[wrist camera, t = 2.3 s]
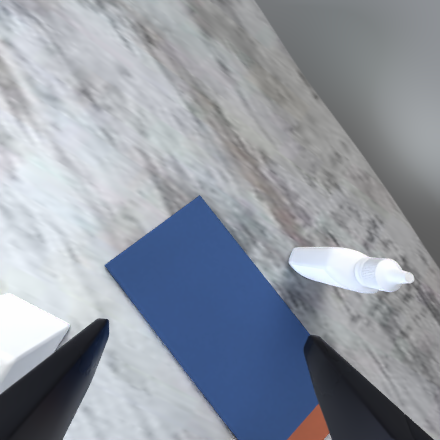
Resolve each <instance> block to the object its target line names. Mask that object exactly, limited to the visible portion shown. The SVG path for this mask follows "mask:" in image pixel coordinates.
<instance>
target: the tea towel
mask: <svg viewBox="0 0 440 440" xmlns="http://www.w3.org/2000/svg"><path fill="white" fill-rule="evenodd" d="M105 267H106V268H107V269H108V271H109V272H110V273H111V275H112V276H113V277H114V279H115V280H116V281H117V283H118V284H119V285H120V286H121V288H122V289H123V290H124V292H125V293H126V294H127V296H128V297H129V298H130V299H131V301H132V302H133V303H134V305H135V306H136V307H137V309H138V310H139V311H140V313H141V314H142V315H143V316H144V318H145V319H146V320H147V322H148V323H149V324H150V326H151V327H152V328H153V329H154V331H155V332H156V333H157V335H158V336H159V337H160V339H161V340H162V341H163V343H164V344H165V345H166V346H167V348H168V349H169V350H170V352H171V353H172V354H173V356H174V357H175V358H176V360H177V361H178V362H179V363H180V365H181V366H182V367H183V369H184V370H185V371H186V373H187V374H188V375H189V376H190V378H191V379H192V380H193V382H194V383H195V384H196V386H197V387H198V388H199V390H200V391H201V392H202V393H203V395H204V396H205V397H206V399H207V400H208V401H209V403H210V404H211V405H212V406H213V408H214V409H215V410H216V412H217V413H218V414H219V416H220V417H221V418H222V420H223V421H224V422H225V423H226V425H227V426H228V427H229V429H230V430H231V431H232V433H233V434H234V435H235V436H236V438H237V439H238V440H324V439H325V437H326V436H327V435H328V434H329V430H328V427H327V424H326V422H325V419H324V416H323V413H322V411H321V408H320V405H319V403H318V400H317V397H316V394H315V391H314V388H313V385H312V381H311V377H310V374H309V370H308V367H307V363H306V359H305V356H304V351H303V349H304V345H305V343H306V340H307V338H308V336H309V335H310V334H309V333H308V332H307V330H306V329H305V328H304V326H303V325H302V324H301V323H300V321H299V320H298V319H297V318H296V316H295V315H294V314H293V313H292V311H291V310H290V309H289V308H288V306H287V305H286V304H285V302H284V301H283V300H282V299H281V297H280V296H279V295H278V294H277V292H276V291H275V290H274V289H273V287H272V286H271V285H270V283H269V282H268V281H267V280H266V278H265V277H264V276H263V275H262V273H261V272H260V271H259V270H258V268H257V267H256V266H255V264H254V263H253V262H252V261H251V259H250V258H249V257H248V256H247V254H246V253H245V252H244V251H243V249H242V248H241V247H240V246H239V244H238V243H237V242H236V240H235V239H234V238H233V237H232V235H231V234H230V233H229V232H228V230H227V229H226V228H225V227H224V225H223V224H222V223H221V221H220V220H219V219H218V218H217V216H216V215H215V214H214V213H213V211H212V210H211V209H210V208H209V206H208V205H207V204H206V202H205V201H204V200H203V199H202V197H201V196H198V197H197V198H195V199H194V200H193V201H191V202H190V203H189V204H187V205H186V206H185V207H183V208H182V209H180V210H179V211H178V212H176V213H175V214H174V215H172V216H171V217H170V218H168V219H167V220H165V221H164V222H163V223H161V224H160V225H159V226H157V227H156V228H155V229H153V230H152V231H151V232H149V233H148V234H146V235H145V236H144V237H142V238H141V239H140V240H138V241H137V242H136V243H134V244H133V245H131V246H130V247H129V248H127V249H126V250H125V251H123V252H122V253H121V254H119V255H118V256H116V257H115V258H114V259H112V260H111V261H110V262H108V263H107V264H106V265H105Z"/></svg>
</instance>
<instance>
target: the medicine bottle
mask: <svg viewBox="0 0 440 440" xmlns="http://www.w3.org/2000/svg"><path fill="white" fill-rule="evenodd" d="M69 328H70V324H69V323H67V322H65V321H63V320H61V319H59V318H57V317H56V316H54V315H52V314H50V313H48V312H46V311H44V310H42V309H40V308H38V307H36V306H34V305H32V304H30V303H28V302H26V301H24V300H23V299H21V298H19V297H17V296H15V295H13V294H10V293H7V294H3V295H0V394H1V393H2V392H4V391H5V390H6V389H8V388H9V387H10V386H11V385H13V384H14V383H15V382H17V381H18V380H19V379H20V378H22V377H23V376H24V375H26V374H27V373H28V372H29V371H31V370H32V369H33V368H35V367H36V366H37V365H38V364H40V363H41V362H42V361H44V360H45V359H46V358H47V357H49V356H50V355H51V354H53V353H54V351H55V350H56V348H57V347H58V345H59V343H60V342H61V340H62V339H63V337H64V336H65V334H66V332H67V331H68V329H69Z"/></svg>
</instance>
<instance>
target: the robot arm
mask: <svg viewBox="0 0 440 440" xmlns="http://www.w3.org/2000/svg"><path fill="white" fill-rule="evenodd" d="M108 337H109V320H108V319H97V320H95V321H94V322H93V323H91V324H90V325H89V326H87V327H86V328H85V329H84V330H82V331H81V332H80V333H78V334H77V335H76V336H75V337H73V338H72V339H71V340H69V341H68V342H67V343H66V344H64V345H63V346H62V347H60V348H59V349H58V350H57V351H55V352H54V353H53V354H51V355H50V356H49V357H47V358H46V359H45V360H44V361H42V362H41V363H40V364H38V365H37V366H36V367H35V368H33V369H32V370H31V371H29V372H28V373H27V374H26V375H24V376H23V377H22V378H20V379H19V380H18V381H17V382H15V383H14V384H13V385H11V386H10V387H9V388H8V389H6V390H5V391H4V392H2V393H1V394H0V440H62V439H63V437H64V435H65V433H66V431H67V429H68V427H69V425H70V423H71V421H72V419H73V417H74V415H75V413H76V411H77V409H78V407H79V405H80V403H81V401H82V399H83V397H84V395H85V393H86V391H87V389H88V387H89V385H90V383H91V381H92V378H93V376H94V374H95V371H96V368H97V366H98V363H99V361H100V358H101V356H102V353H103V350H104V348H105V345H106V343H107V340H108ZM303 351H304V356H305V359H306V363H307V367H308V370H309V374H310V377H311V381H312V385H313V388H314V391H315V394H316V397H317V400H318V403H319V405H320V408H321V411H322V413H323V416H324V419H325V422H326V424H327V427H328V430H329V433H330V435H331V438H332V440H434V439H433V438H431V437H430V436H429V435H428V434H427V433H426V432H425V431H423V430H422V429H421V428H420V427H419V426H418V425H417V424H416V423H414V422H413V421H412V420H411V419H410V418H409V417H408V416H407V415H405V414H404V413H403V412H402V411H401V410H400V409H399V408H398V407H397V406H396V405H394V404H393V403H392V402H391V401H390V400H389V399H388V398H387V397H386V396H385V395H383V394H382V393H381V392H380V391H379V390H378V389H377V388H376V387H375V386H373V385H372V384H371V383H370V382H369V381H368V380H367V379H366V378H365V377H363V376H362V375H361V374H360V373H359V372H358V371H357V370H356V369H355V368H354V367H352V366H351V365H350V364H349V363H348V362H347V361H346V360H345V359H344V358H342V357H341V356H340V355H339V354H338V353H337V352H336V351H335V350H334V349H333V348H331V347H330V346H329V345H328V344H327V343H326V342H325V341H324V340H323V339H321V338H320V337H319V336H317V335H309V336H308V338H307V340H306V343H305V345H304V349H303Z"/></svg>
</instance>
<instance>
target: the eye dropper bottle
mask: <svg viewBox="0 0 440 440" xmlns="http://www.w3.org/2000/svg"><path fill="white" fill-rule="evenodd" d="M289 264H290V265H291V267H292V268H293V269H294V270H295V271H296V272H298V273H299V274H300V275H302V276H304V277H306V278H308V279H311V280H314V281H318V282H321V283H325V284H329V285H333V286H337V287H340V288H344V289H348V290H352V291H356V292H360V293H376V292H378V291H379V290H382V291H387V292H394V291H396V290H397V289H399V288H400V286H401V285H402V283H412V282H413V281H414V276H413V275H412V274H411V273H409V272H406V271H403V270H402V269H401V267H400V266H399V264H398V263H397V262H396V261H394V260H392V259H388V258H370V257H368V256H366V255H364V254H362V253H360V252H358V251H355V250H352V249H347V248H340V247H296V248H294V249H293V251H292V253H291V256H290V258H289Z"/></svg>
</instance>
